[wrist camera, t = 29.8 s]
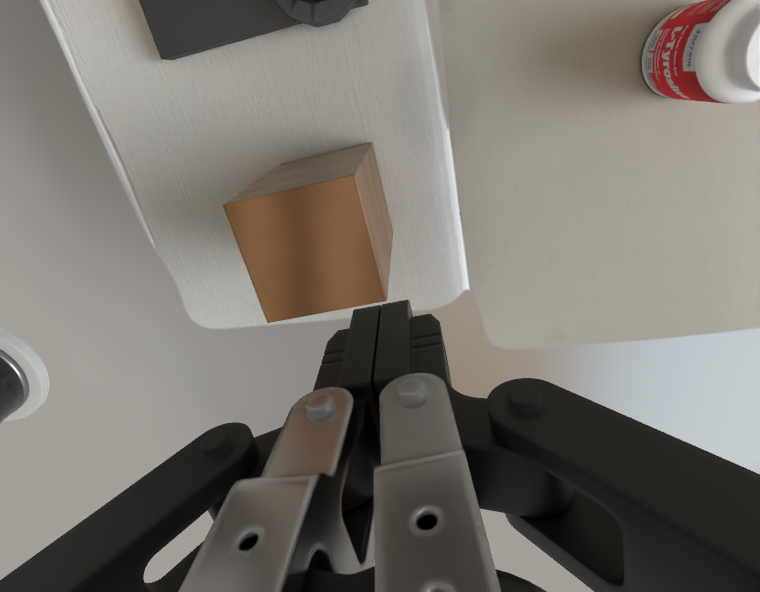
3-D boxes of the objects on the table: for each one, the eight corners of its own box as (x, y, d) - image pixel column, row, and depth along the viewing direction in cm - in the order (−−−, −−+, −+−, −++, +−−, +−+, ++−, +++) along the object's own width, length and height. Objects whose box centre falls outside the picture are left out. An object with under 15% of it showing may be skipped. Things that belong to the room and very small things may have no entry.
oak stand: (308, 250, 43) (267, 323, 30) (281, 163, 39) (222, 204, 27) (393, 232, 42) (387, 301, 29) (372, 141, 38) (355, 174, 26)
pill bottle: (632, 26, 34) (726, 5, 24) (722, -11, 33) (861, -49, 23) (645, 111, 36) (735, 124, 26) (729, 79, 35) (858, 80, 25)
